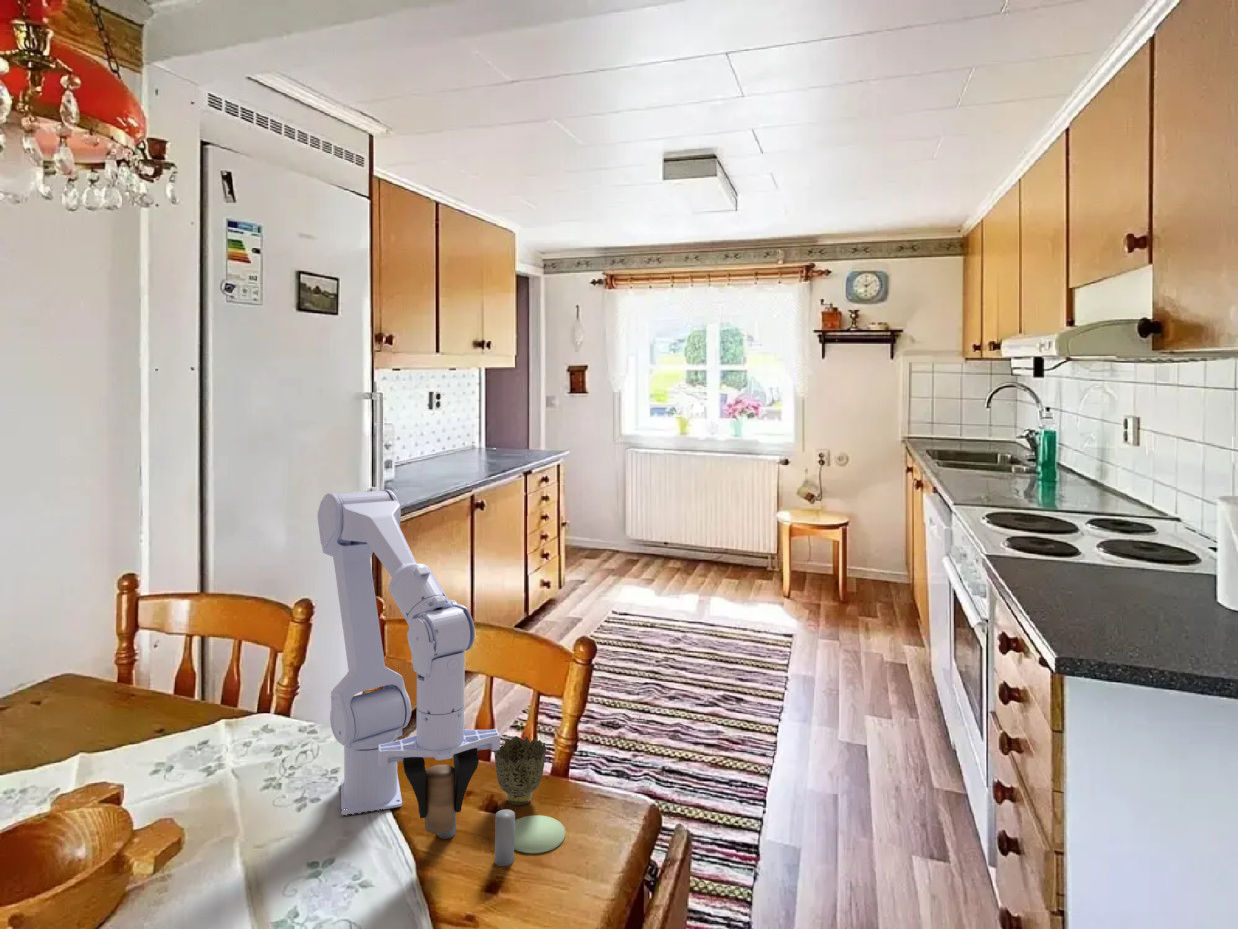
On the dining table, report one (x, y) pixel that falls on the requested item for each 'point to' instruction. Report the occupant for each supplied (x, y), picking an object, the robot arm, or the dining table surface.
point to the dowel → (440, 799)
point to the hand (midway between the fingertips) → (439, 811)
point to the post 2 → (504, 837)
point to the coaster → (537, 834)
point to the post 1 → (449, 832)
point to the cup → (520, 768)
